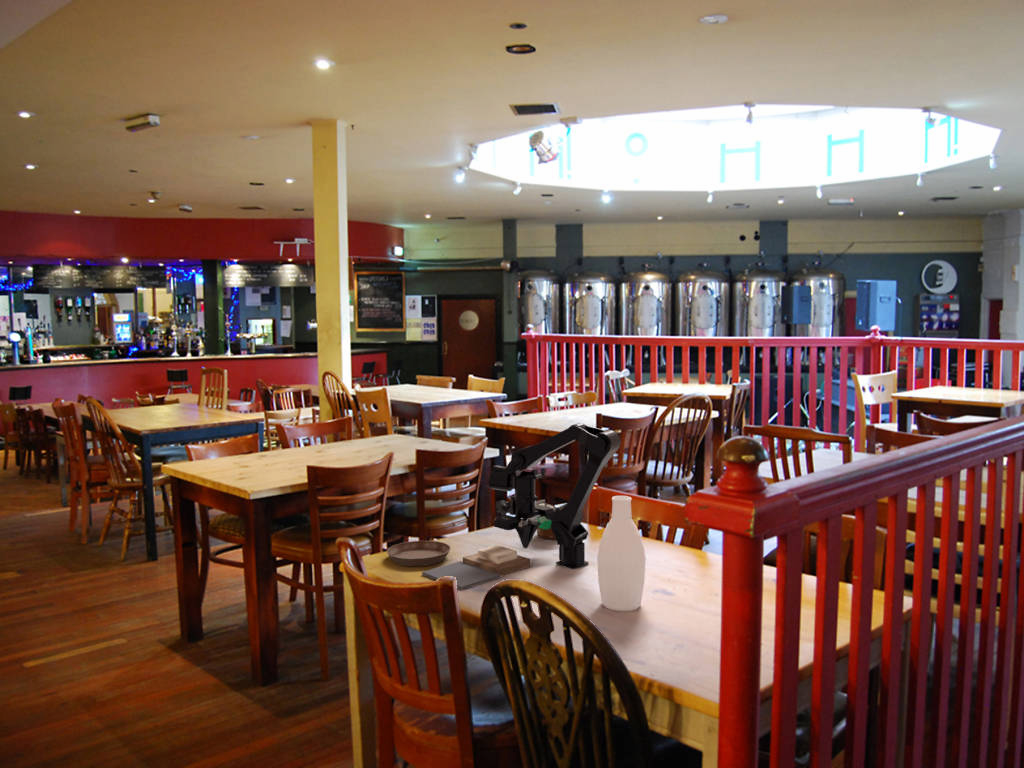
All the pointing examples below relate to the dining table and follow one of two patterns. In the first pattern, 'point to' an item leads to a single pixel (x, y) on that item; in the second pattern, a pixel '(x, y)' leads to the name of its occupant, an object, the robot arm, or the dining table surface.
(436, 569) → the bar mat
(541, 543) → the dining table surface
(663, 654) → the dining table surface
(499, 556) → the coaster
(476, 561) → the serving board
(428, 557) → the plant saucer
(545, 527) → the food container
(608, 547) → the bottle
